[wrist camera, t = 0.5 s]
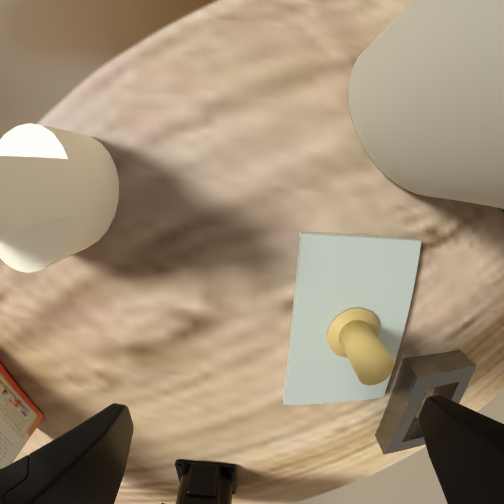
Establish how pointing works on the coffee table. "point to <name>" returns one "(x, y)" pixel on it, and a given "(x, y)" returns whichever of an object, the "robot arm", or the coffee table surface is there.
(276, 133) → the coffee table surface
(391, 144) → the cylinder vase
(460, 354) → the link
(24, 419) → the cracker box
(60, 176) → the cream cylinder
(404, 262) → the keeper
